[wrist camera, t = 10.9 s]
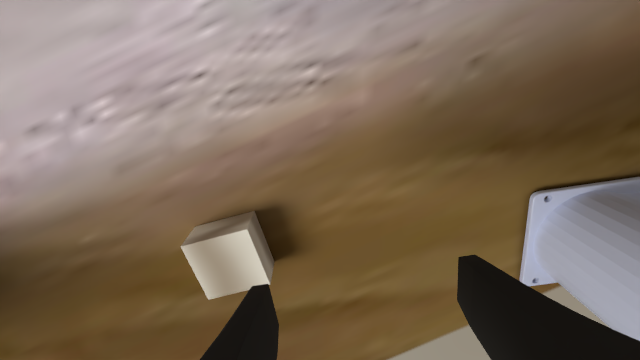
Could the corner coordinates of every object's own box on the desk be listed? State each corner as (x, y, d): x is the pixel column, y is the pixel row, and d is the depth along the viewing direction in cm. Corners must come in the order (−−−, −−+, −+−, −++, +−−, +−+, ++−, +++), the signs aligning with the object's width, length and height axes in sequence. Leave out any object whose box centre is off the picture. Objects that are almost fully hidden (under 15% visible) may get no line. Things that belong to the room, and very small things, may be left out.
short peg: (254, 210, 20) (247, 229, 18) (274, 261, 22) (270, 284, 20) (195, 226, 21) (180, 246, 18) (219, 275, 22) (208, 299, 20)
